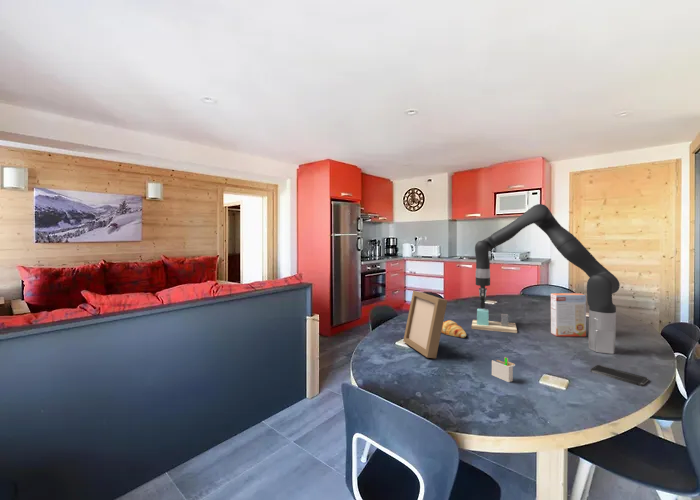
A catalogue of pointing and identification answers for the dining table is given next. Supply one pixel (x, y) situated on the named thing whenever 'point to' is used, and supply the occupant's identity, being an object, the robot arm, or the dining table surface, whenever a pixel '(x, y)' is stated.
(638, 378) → the dark grey flat bar
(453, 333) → the croissant
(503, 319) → the right steel post
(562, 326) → the cracker box
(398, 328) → the dining table surface
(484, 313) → the light blue cube
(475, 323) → the birch board
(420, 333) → the photo frame
